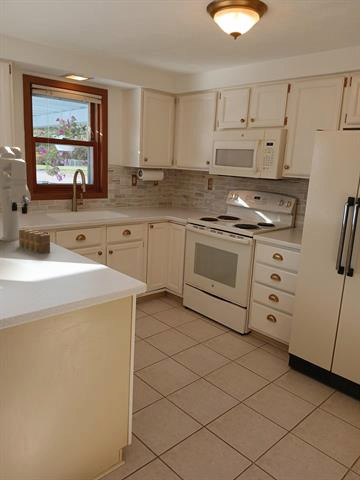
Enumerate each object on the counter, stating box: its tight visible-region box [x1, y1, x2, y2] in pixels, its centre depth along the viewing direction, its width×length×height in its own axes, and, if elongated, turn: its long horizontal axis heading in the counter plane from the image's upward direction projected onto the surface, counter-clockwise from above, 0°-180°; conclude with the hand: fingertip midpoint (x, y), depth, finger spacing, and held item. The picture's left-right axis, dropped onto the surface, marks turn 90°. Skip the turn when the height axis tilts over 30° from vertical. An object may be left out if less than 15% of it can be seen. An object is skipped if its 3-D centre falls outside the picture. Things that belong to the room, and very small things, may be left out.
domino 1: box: [18, 228, 30, 247], centre depth 210 cm, size 2×5×10 cm, turn 144°
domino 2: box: [24, 229, 35, 249], centre depth 207 cm, size 2×5×10 cm, turn 144°
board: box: [16, 246, 53, 256], centre depth 206 cm, size 24×8×1 cm, turn 54°
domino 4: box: [34, 232, 45, 252], centre depth 202 cm, size 2×5×10 cm, turn 144°
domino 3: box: [29, 230, 40, 251], centre depth 204 cm, size 2×5×10 cm, turn 144°
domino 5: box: [39, 233, 51, 255], centre depth 199 cm, size 2×5×10 cm, turn 144°
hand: (19, 212), depth 210 cm, fingers open, 9 cm apart
